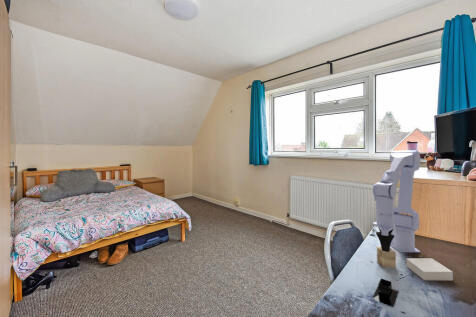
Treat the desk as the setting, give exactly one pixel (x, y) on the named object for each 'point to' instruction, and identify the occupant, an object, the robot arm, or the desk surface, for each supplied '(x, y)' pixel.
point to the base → (429, 269)
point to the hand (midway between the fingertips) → (385, 247)
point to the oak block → (386, 257)
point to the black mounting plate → (385, 293)
